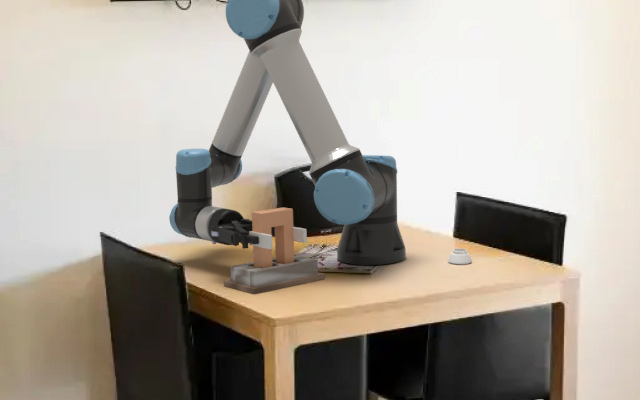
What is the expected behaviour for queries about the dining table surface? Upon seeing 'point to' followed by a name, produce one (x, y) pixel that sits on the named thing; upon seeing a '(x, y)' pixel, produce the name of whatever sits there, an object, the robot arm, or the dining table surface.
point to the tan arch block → (283, 236)
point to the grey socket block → (273, 275)
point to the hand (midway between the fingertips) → (288, 239)
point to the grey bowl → (459, 257)
